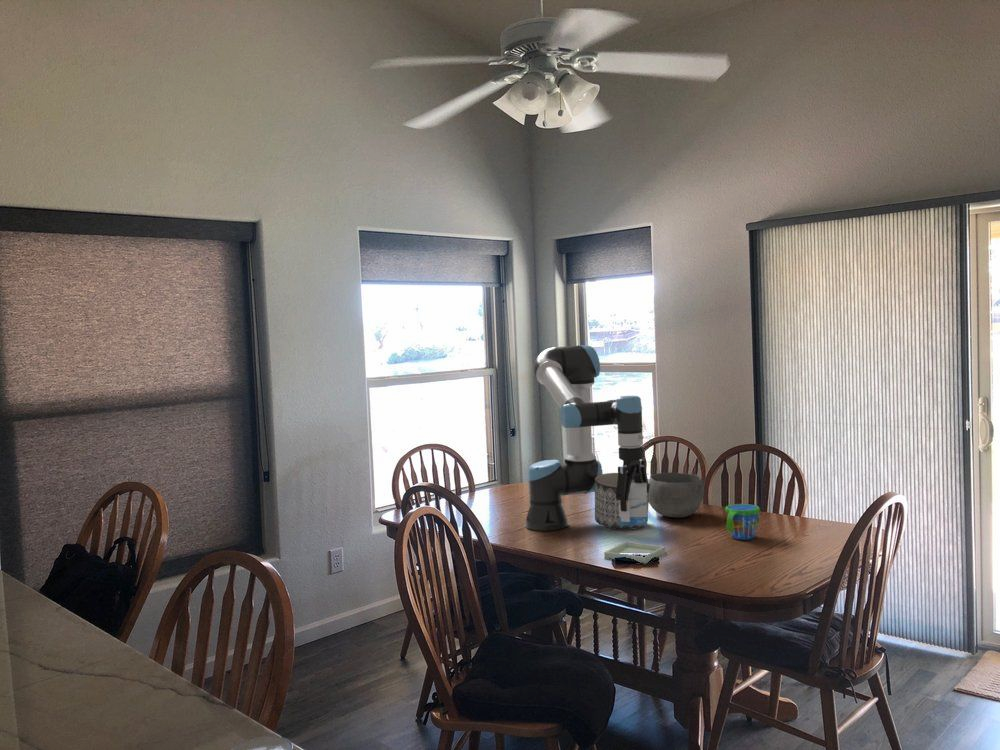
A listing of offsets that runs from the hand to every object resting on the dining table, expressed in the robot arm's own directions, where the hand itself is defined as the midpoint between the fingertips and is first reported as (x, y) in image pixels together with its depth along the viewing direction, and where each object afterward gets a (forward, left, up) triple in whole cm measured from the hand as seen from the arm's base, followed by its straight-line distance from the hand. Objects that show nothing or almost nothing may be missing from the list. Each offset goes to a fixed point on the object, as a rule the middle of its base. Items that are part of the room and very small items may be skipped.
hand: (634, 517), depth 254 cm
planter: (-22, +31, -12) cm, 40 cm away
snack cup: (+22, +34, -12) cm, 42 cm away
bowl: (-10, +53, -12) cm, 55 cm away
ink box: (0, 0, -2) cm, 2 cm away
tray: (0, 0, -12) cm, 12 cm away
